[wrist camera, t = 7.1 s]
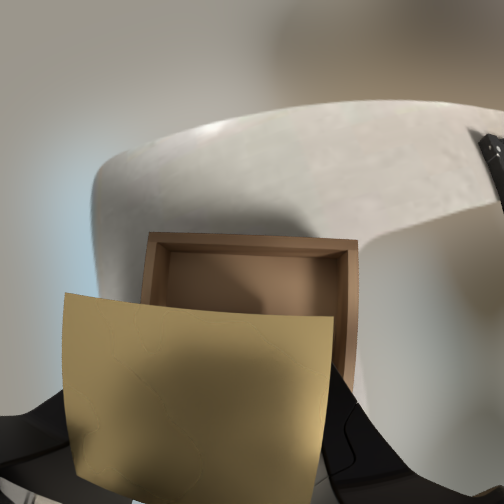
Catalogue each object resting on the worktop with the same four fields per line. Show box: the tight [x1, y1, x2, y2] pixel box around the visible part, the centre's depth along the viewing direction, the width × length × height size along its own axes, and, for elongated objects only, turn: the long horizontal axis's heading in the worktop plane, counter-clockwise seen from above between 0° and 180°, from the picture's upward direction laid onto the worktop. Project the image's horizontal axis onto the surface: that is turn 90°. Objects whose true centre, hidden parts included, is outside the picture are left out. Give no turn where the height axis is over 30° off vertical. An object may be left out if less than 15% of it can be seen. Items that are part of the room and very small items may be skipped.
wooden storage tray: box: [141, 232, 359, 392], centre depth 16 cm, size 12×12×5 cm
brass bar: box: [62, 293, 334, 504], centre depth 9 cm, size 4×4×12 cm
